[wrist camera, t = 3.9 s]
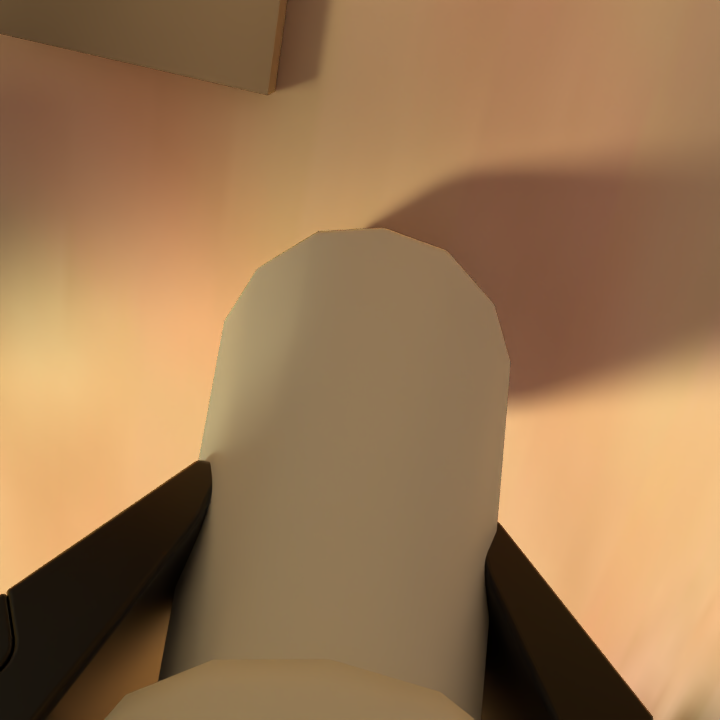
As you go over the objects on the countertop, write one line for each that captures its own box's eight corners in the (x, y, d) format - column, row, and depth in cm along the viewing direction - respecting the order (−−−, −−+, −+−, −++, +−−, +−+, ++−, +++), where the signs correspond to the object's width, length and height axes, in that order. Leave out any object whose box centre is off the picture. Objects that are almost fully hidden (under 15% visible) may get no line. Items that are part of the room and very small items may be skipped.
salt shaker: (419, 148, 14) (503, 840, 2) (534, 362, 16) (898, 1303, 4) (197, 280, 15) (-449, 1079, 4) (328, 458, 17) (178, 1325, 6)
